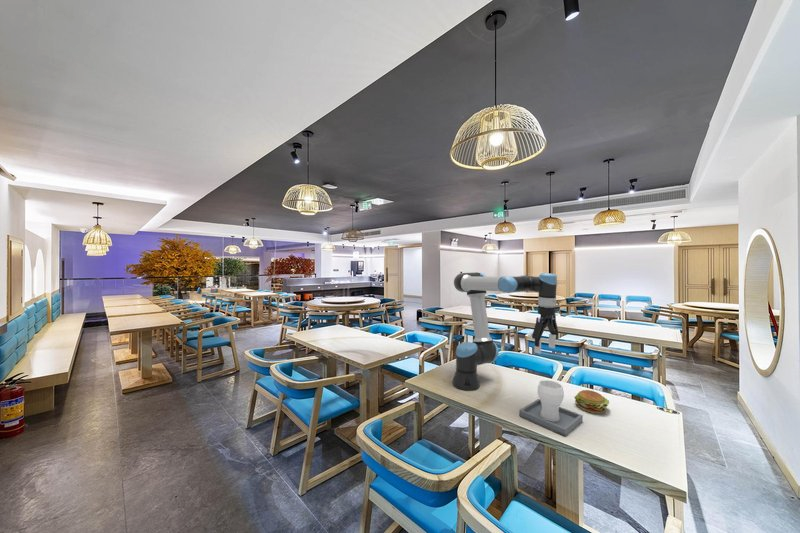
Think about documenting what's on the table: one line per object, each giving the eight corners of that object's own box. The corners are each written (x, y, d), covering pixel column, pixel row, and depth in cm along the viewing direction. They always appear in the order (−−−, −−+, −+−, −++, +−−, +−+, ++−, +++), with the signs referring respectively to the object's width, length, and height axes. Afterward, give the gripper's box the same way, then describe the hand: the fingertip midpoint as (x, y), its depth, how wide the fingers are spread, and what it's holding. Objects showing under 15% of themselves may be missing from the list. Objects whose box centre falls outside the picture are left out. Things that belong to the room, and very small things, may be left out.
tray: (519, 416, 138) (519, 410, 138) (538, 404, 150) (538, 398, 150) (565, 436, 123) (565, 429, 123) (582, 421, 134) (582, 415, 134)
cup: (566, 424, 130) (567, 390, 129) (540, 422, 132) (541, 388, 131) (558, 412, 140) (559, 380, 140) (534, 410, 142) (535, 378, 142)
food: (596, 418, 137) (596, 401, 137) (568, 404, 150) (569, 388, 150) (616, 413, 142) (616, 396, 142) (587, 399, 155) (588, 384, 155)
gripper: (541, 310, 131) (539, 357, 132) (567, 304, 147) (565, 347, 148) (525, 307, 137) (523, 353, 138) (551, 302, 153) (549, 343, 154)
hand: (544, 350), depth 143 cm, fingers open, 13 cm apart
